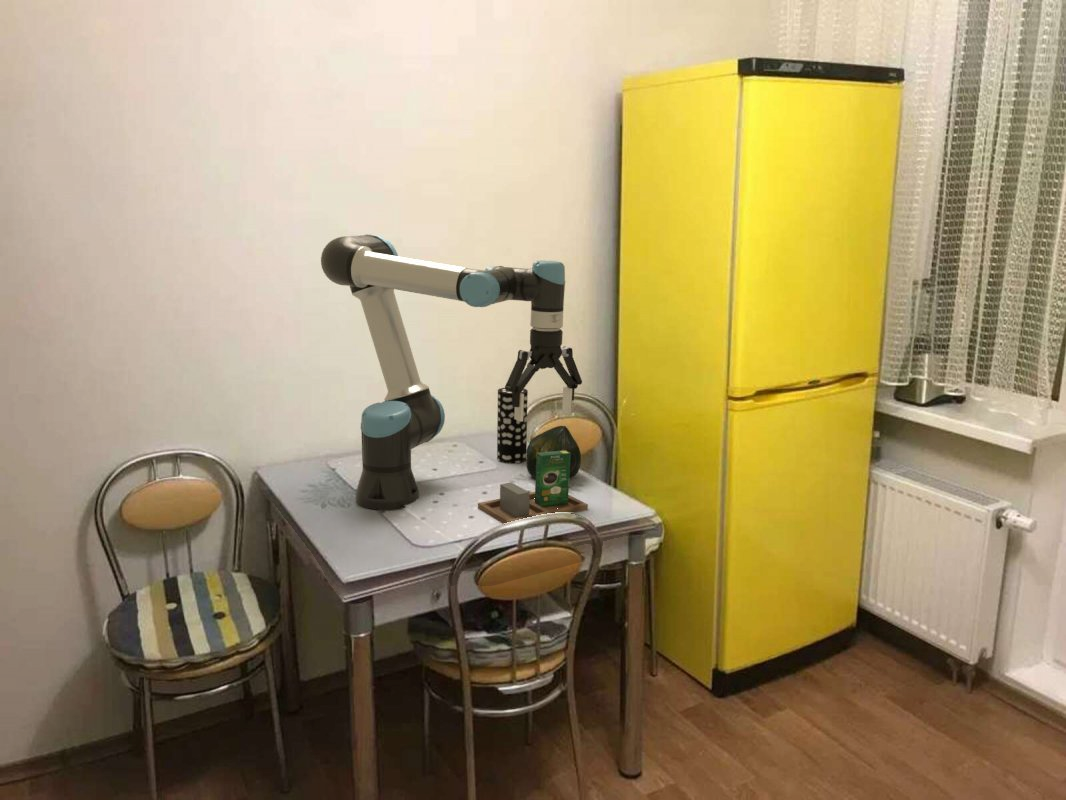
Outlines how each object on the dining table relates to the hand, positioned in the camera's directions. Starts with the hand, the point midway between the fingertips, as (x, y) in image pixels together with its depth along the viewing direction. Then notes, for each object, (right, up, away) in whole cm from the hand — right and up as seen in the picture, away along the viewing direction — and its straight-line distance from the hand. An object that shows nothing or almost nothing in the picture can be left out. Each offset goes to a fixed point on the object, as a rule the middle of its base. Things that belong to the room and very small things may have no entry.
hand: (543, 417), depth 204 cm
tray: (-2, -22, 0) cm, 23 cm away
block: (-7, -22, -3) cm, 23 cm away
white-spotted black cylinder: (-8, -13, +40) cm, 43 cm away
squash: (+3, -17, +25) cm, 30 cm away
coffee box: (+2, -21, +2) cm, 21 cm away
